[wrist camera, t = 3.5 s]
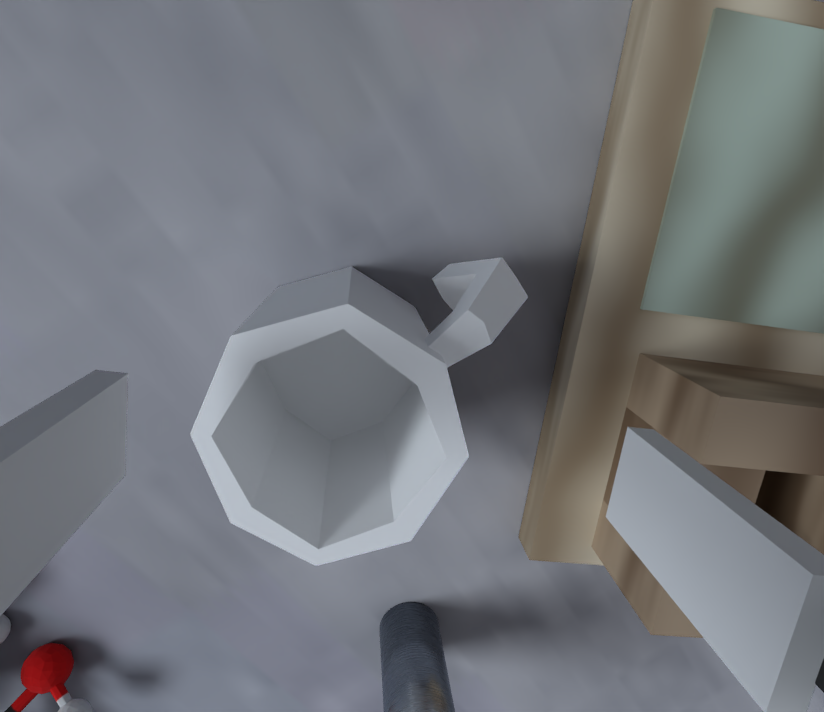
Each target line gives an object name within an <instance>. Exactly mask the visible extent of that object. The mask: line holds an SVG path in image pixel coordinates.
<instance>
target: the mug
mask: <svg viewBox="0 0 824 712" xmlns="http://www.w3.org/2000/svg"><path fill="white" fill-rule="evenodd" d="M432 280H433V282H434V284H435V286H436V287H437V289H438V291H439V293H440V295H441V297H442V299H443V300H444V301H445V302H446V303H447V304H448V306H449V307H450V308H451V309H452V310H453V312H452V313H451V314H450V315H448V316H447V317H446V318H445V319H444V320H443V321H442V322H441V323H440V324H439V325H438V326H437V327H436V328H435V329H434V330H433V331H432V332H431V333H430V334H429V332H428V330H427V328H426V327H425V325H424V323H423V321H422V319H421V317H420V316H419V314H418V312H417V310H416V308H415V306H413V305H412V304H410V303H408V302H407V301H405V300H404V299H402V298H401V297H399V296H397V295H396V294H394V293H393V292H391V291H390V290H388V289H386V288H385V287H383V286H382V285H380V284H379V283H377V282H375V281H374V280H372V279H371V278H369V277H368V276H366V275H364V274H363V273H361V272H360V271H358V270H357V269H355V268H353V267H352V266H351V267H348V268H344V269H340V270H337V271H333V272H329V273H326V274H322V275H318V276H315V277H311V278H307V279H304V280H300V281H296V282H293V283H289V284H285V285H282V286H278V287H277V288H276V289H275V290H274V291H273V292H272V293H271V294H270V295H269V296H268V297H267V298H266V299H265V300H264V301H263V303H262V304H261V305H260V306H259V307H258V308H257V309H256V310H255V311H254V312H253V313H252V314H251V315H250V316H249V317H248V318H247V319H246V320H245V321H244V322H243V324H242V325H241V326H240V327H239V328H238V329H237V330H236V331H235V332H234V333H233V334H232V335H231V336H230V339H229V341H228V344H227V346H226V349H225V351H224V353H223V356H222V358H221V361H220V363H219V365H218V368H217V370H216V373H215V375H214V378H213V380H212V382H211V385H210V387H209V390H208V392H207V394H206V397H205V399H204V402H203V404H202V407H201V409H200V411H199V414H198V416H197V419H196V421H195V423H194V426H193V428H192V431H191V433H190V435H191V437H192V440H193V442H194V444H195V446H196V448H197V451H198V453H199V455H200V457H201V459H202V462H203V464H204V466H205V468H206V470H207V472H208V475H209V477H210V479H211V481H212V483H213V486H214V488H215V490H216V492H217V494H218V497H219V499H220V501H221V503H222V505H223V507H224V510H225V512H226V514H227V516H228V518H229V521H230V523H232V524H234V525H236V526H238V527H240V528H242V529H244V530H246V531H248V532H250V533H252V534H253V535H255V536H257V537H259V538H261V539H263V540H265V541H267V542H269V543H271V544H273V545H275V546H277V547H279V548H281V549H283V550H285V551H287V552H289V553H291V554H293V555H295V556H297V557H299V558H301V559H303V560H305V561H307V562H309V563H311V564H313V565H315V566H318V565H322V564H326V563H330V562H333V561H337V560H341V559H345V558H349V557H352V556H356V555H360V554H364V553H368V552H371V551H375V550H379V549H383V548H386V547H390V546H394V545H398V544H402V543H405V542H409V541H411V540H412V539H413V537H414V536H415V534H416V533H417V531H418V530H419V528H420V527H421V526H422V524H423V523H424V521H425V520H426V518H427V517H428V515H429V514H430V512H431V511H432V510H433V508H434V507H435V505H436V504H437V502H438V501H439V499H440V498H441V497H442V495H443V494H444V492H445V491H446V489H447V488H448V486H449V485H450V484H451V482H452V481H453V479H454V478H455V476H456V475H457V473H458V472H459V470H460V469H461V468H462V466H463V465H464V463H465V462H466V460H467V459H468V457H469V454H468V450H467V446H466V442H465V438H464V434H463V430H462V426H461V422H460V418H459V414H458V410H457V406H456V402H455V398H454V394H453V390H452V386H451V382H450V378H449V374H448V370H447V368H448V367H450V366H451V365H453V364H455V363H457V362H459V361H461V360H462V359H464V358H466V357H468V356H470V355H472V354H474V353H475V352H477V351H479V350H481V349H483V348H485V347H486V346H488V345H490V344H492V342H493V341H494V340H495V339H496V337H497V336H498V335H499V334H500V332H501V331H502V330H503V329H504V327H505V326H506V325H507V324H508V322H509V321H510V320H511V318H512V317H513V316H514V315H515V313H516V312H517V311H518V310H519V308H520V307H521V306H522V305H523V303H524V302H525V301H526V300H527V298H528V296H527V294H526V292H525V291H524V289H523V287H522V286H521V284H520V282H519V281H518V279H517V278H516V276H515V274H514V273H513V272H512V270H511V269H510V267H509V266H508V265H507V263H506V262H505V260H504V259H503V258H502V257H501V258H493V259H485V260H477V261H469V262H461V263H453V264H449V265H447V266H446V267H445V268H444V269H443V270H442V271H440V272H439V273H438V274H437V275H436V276H434V277H433V278H432Z"/></svg>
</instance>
